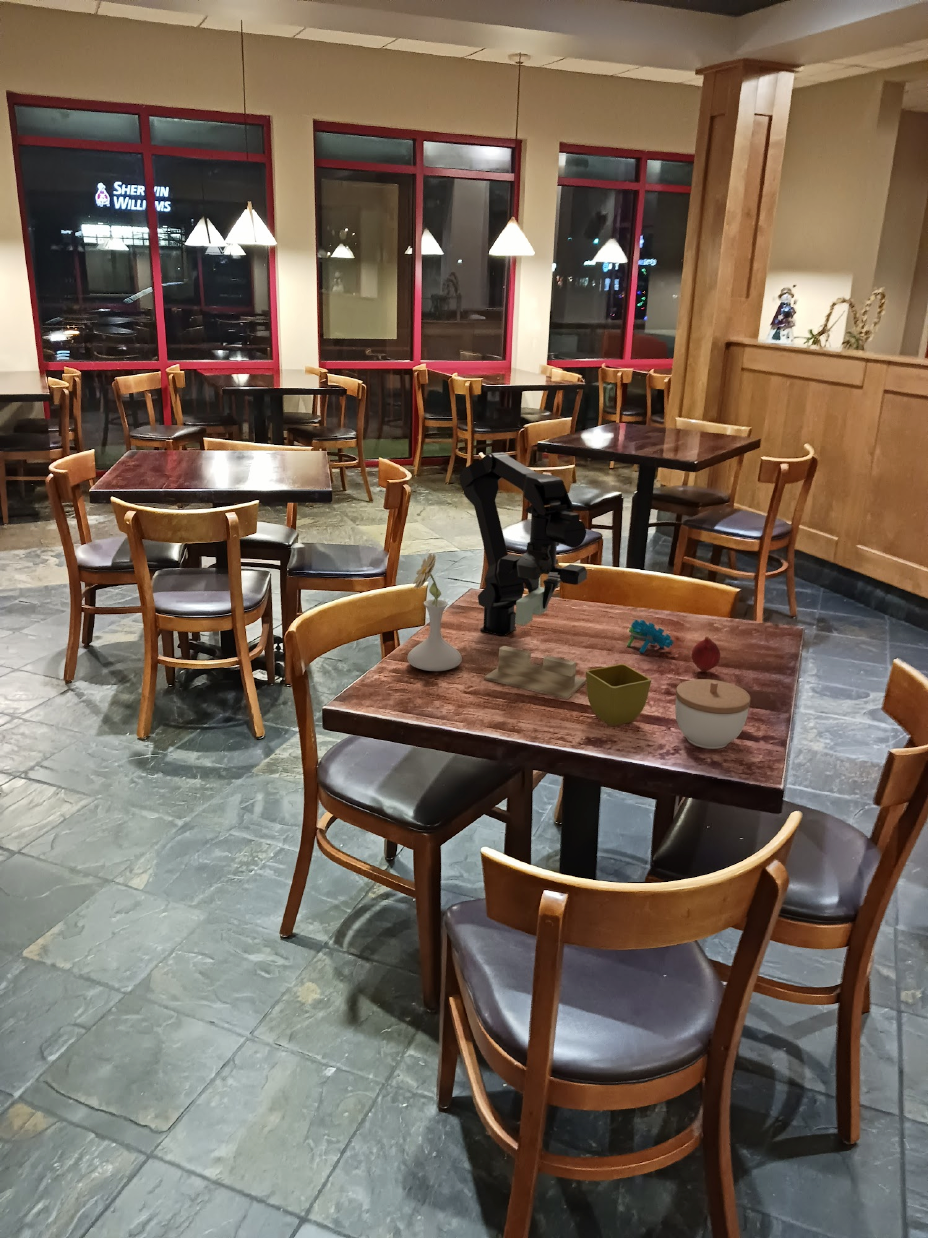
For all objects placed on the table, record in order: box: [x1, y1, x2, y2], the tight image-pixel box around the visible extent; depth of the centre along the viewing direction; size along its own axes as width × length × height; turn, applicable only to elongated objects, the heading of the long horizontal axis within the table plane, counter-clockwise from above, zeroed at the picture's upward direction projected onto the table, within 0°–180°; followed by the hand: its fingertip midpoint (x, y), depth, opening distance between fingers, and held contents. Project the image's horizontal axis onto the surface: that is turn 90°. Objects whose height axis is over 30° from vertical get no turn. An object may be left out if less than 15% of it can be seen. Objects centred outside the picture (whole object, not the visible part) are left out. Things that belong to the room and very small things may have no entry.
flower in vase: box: [406, 552, 463, 672], centre depth 187 cm, size 13×11×25 cm
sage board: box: [515, 586, 549, 627], centre depth 195 cm, size 2×12×5 cm, turn 151°
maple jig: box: [484, 645, 586, 700], centre depth 185 cm, size 18×10×6 cm, turn 61°
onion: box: [690, 634, 721, 673], centre depth 192 cm, size 6×6×8 cm
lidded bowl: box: [674, 678, 752, 750], centre depth 161 cm, size 13×13×11 cm
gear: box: [626, 619, 674, 654], centre depth 204 cm, size 11×6×10 cm
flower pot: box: [585, 663, 652, 727], centre depth 168 cm, size 9×9×9 cm
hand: (539, 607), depth 199 cm, fingers closed on sage board, 2 cm apart
